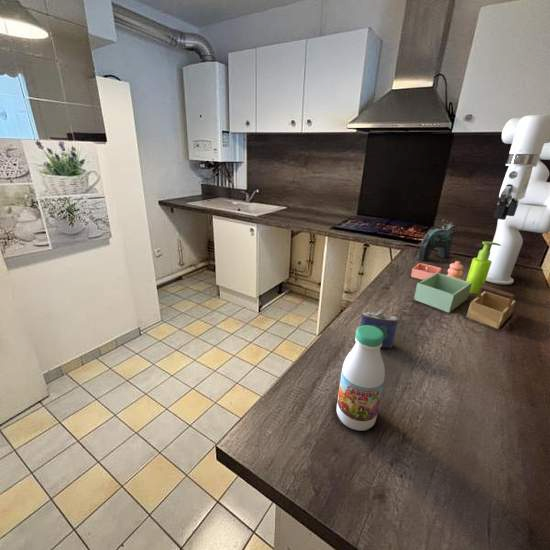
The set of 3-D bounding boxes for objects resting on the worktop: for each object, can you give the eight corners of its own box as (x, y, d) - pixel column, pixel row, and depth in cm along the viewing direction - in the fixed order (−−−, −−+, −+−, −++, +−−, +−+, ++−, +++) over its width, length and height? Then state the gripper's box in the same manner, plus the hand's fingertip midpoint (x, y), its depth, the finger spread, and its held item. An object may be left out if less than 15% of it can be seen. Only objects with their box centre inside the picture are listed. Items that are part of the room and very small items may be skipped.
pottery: (410, 277, 124) (415, 255, 121) (417, 271, 131) (422, 250, 127) (458, 290, 114) (465, 266, 110) (463, 282, 120) (469, 260, 116)
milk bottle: (331, 401, 62) (342, 320, 54) (367, 399, 62) (382, 318, 54) (342, 433, 55) (356, 345, 47) (382, 430, 55) (402, 343, 47)
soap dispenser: (486, 296, 109) (504, 245, 101) (466, 294, 110) (482, 243, 103) (480, 289, 115) (496, 240, 107) (460, 287, 116) (475, 239, 108)
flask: (392, 344, 80) (399, 310, 76) (393, 350, 78) (400, 316, 74) (357, 338, 83) (362, 305, 79) (357, 344, 80) (362, 310, 76)
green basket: (433, 288, 114) (437, 272, 112) (466, 300, 106) (472, 282, 103) (413, 300, 105) (417, 283, 102) (448, 314, 96) (454, 295, 94)
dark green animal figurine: (442, 254, 155) (451, 216, 147) (453, 258, 149) (463, 219, 141) (414, 258, 147) (423, 219, 139) (425, 263, 142) (435, 222, 134)
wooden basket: (479, 306, 102) (488, 280, 98) (509, 316, 96) (520, 289, 92) (465, 318, 94) (474, 290, 90) (497, 330, 88) (508, 300, 84)
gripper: (530, 161, 81) (509, 222, 87) (544, 161, 91) (524, 216, 97) (498, 160, 86) (481, 218, 92) (514, 160, 96) (498, 212, 103)
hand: (503, 217), depth 95 cm, fingers open, 9 cm apart
